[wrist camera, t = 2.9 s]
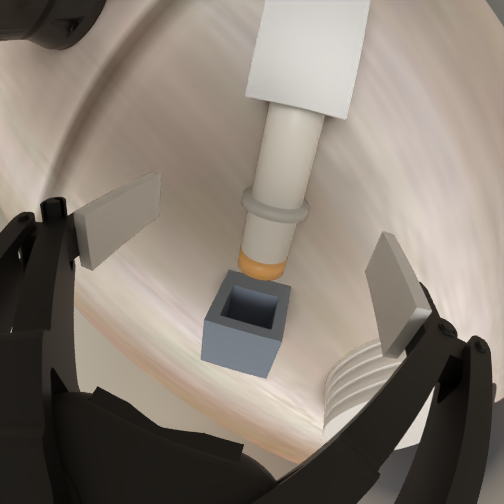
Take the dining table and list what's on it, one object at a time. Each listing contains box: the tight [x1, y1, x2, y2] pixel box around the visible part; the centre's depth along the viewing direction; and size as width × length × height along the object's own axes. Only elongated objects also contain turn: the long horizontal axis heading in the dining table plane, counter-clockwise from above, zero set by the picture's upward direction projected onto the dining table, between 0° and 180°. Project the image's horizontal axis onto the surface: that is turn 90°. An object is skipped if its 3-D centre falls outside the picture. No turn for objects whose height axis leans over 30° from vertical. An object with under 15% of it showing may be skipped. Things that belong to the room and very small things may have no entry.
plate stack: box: [323, 338, 435, 450], centre depth 39 cm, size 28×28×12 cm
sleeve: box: [245, 0, 370, 120], centre depth 18 cm, size 16×8×10 cm, turn 169°
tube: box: [238, 101, 325, 281], centre depth 22 cm, size 32×7×7 cm, turn 169°
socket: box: [201, 270, 291, 378], centre depth 36 cm, size 8×9×10 cm
